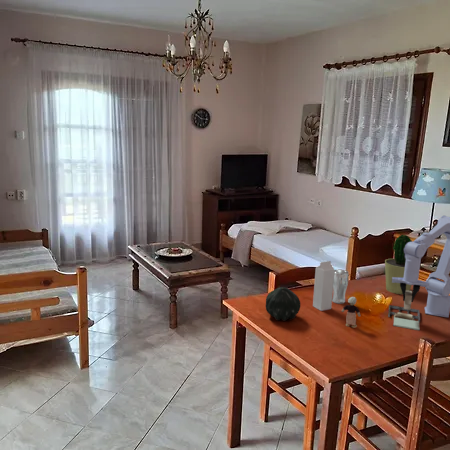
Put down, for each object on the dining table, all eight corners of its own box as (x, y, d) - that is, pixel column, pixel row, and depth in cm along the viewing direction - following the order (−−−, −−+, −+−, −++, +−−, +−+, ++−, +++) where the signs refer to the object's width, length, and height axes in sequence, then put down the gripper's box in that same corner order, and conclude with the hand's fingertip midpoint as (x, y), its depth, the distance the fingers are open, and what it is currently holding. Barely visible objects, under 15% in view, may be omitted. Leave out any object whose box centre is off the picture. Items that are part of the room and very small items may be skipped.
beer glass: (346, 304, 205) (349, 274, 202) (331, 303, 206) (333, 273, 203) (345, 299, 211) (348, 269, 208) (330, 297, 213) (333, 268, 210)
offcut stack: (413, 319, 192) (414, 314, 191) (413, 322, 189) (414, 317, 188) (394, 316, 195) (394, 311, 194) (393, 318, 192) (394, 313, 192)
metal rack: (418, 312, 199) (419, 309, 199) (419, 322, 188) (420, 319, 188) (389, 307, 203) (389, 304, 203) (388, 317, 193) (388, 314, 192)
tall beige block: (410, 304, 190) (412, 291, 189) (410, 310, 184) (412, 296, 183) (404, 303, 191) (405, 290, 190) (403, 308, 185) (405, 295, 184)
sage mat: (418, 322, 188) (418, 321, 188) (419, 330, 181) (419, 329, 180) (393, 318, 191) (394, 317, 191) (393, 325, 184) (393, 324, 184)
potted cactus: (388, 295, 218) (395, 237, 212) (377, 284, 233) (383, 229, 227) (419, 296, 218) (426, 238, 212) (406, 285, 233) (413, 230, 227)
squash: (287, 295, 200) (273, 275, 192) (311, 307, 188) (297, 287, 180) (268, 319, 196) (252, 300, 188) (291, 333, 185) (276, 314, 176)
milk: (312, 306, 202) (315, 260, 198) (323, 304, 205) (326, 259, 200) (321, 311, 197) (324, 264, 192) (331, 309, 200) (335, 262, 195)
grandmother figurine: (359, 325, 184) (362, 296, 181) (359, 328, 180) (362, 300, 178) (340, 322, 186) (343, 294, 183) (339, 325, 183) (342, 297, 180)
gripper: (393, 270, 183) (389, 300, 186) (431, 275, 178) (426, 307, 181) (393, 265, 190) (390, 295, 193) (430, 270, 184) (426, 301, 187)
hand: (407, 300), depth 187 cm, fingers closed on tall beige block, 2 cm apart
